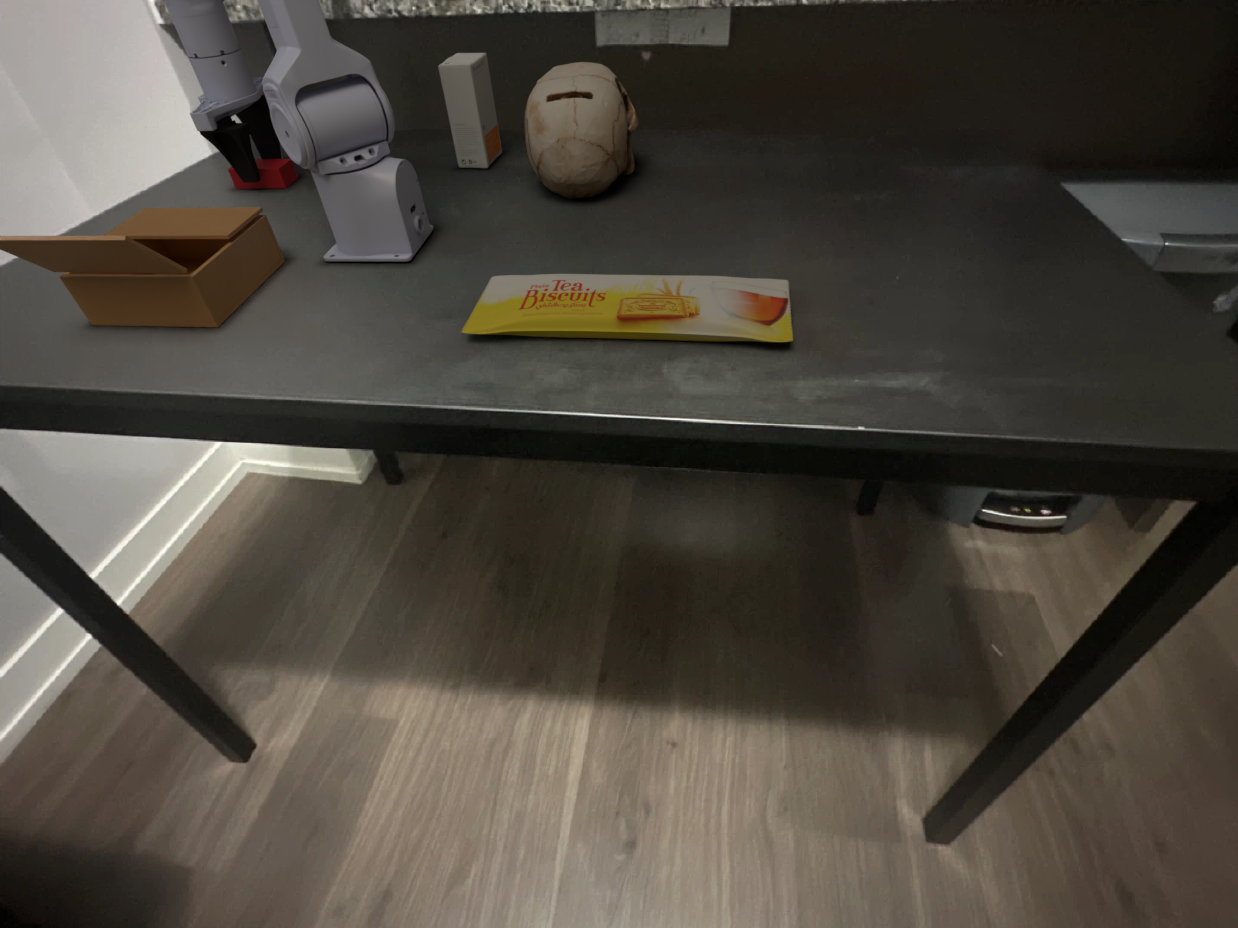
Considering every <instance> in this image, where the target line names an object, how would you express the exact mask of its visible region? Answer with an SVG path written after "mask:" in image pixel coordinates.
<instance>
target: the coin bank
mask: <svg viewBox="0 0 1238 928" xmlns="http://www.w3.org/2000/svg"><path fill="white" fill-rule="evenodd" d="M623 85H624V84H622V83H621V82H620V81H619V80H618V77H617V75H615V73H614V72H613V71H612V70H611V69H610V68H609V67H608V66H606V65H604V64H602V63H597V62H592V61H591V62H590V61H589V62H588V61H579V62H571V63H566V64H559V65H555V66H553V67H552V68H551V69H550V70H548V71H547V72H546V73H545V74H543V76H541V77H540V78H539V79H538V80H537V81H536V84H535V85H534V87H533V88H532V89H531V92H530V94H529V95H528V97H527V101H526V105H525V110H524V111H525V112H524V117H523V118H524V121H523V122H524V135H525V136H524V138H525V146H526V151H527V152H526V153H527V158H528V161H529V164H530V166H531V168H532V169H533V171H534V173H535V175H536V177H537V178H538V179H539V181H540V182H541V184H542V185H543V186H544V187H546V188H547V189H548V190H549V191H551V192H552V193H554V194H557V195H559V196H561V197H563V198H565V199H570V200H571V199H578V198H579V199H580V198H581V199H582V198H590V197H595V196H597V195H600V194H602V193H604V192H607V191H608V190H609V189H610V187H611V185H612V184H613V183H614V182H615V181H616V180H617V179H618V177H619V176H628V175H629V176H630V175H631V174H632V173H634V171H635V166H636V164H635V157H634V151H633V147H632V134H633V133H634V132H635V131H636V129H637V128H638V126H639V124H640V120H639V118H638V115H637V113H636V110H635V109H636V108H635V106H633V103H632V101H631V99H630V97H629V95H628V91H627V90H626V88H625V87H624V86H623Z"/></svg>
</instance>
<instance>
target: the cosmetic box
mask: <svg viewBox="0 0 1238 928" xmlns="http://www.w3.org/2000/svg"><path fill="white" fill-rule="evenodd" d="M437 68H438V73H439V74H438V75H439V77H440V83H441V88H442V93H443V97H444V102H445V107H446V112H447V115H448V116H447V117H448V122H449V126H450V127H449V128H450V132H451V136H452V141H453V147H454V151H455V156H456V161H457V166H458V168H460V169H488V168H489V167H490V166H491V165H492V164H493V163H494V162H495V161H496V160H497V158H499V157H500V156H501V155H502V153H503V147H502V141H501V135H500V128H499V123H498V116H497V110H496V105H495V97H494V92H493V87H492V86H493V85H492V81H491V73H490V66H489V60H488V56H487V52H457V53H455V54H453V55H451V56H449V57H447V58H446V59H445V60H444V61H443V62H442V63H440V64H439V65H438V66H437Z"/></svg>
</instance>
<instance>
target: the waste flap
mask: <svg viewBox="0 0 1238 928" xmlns="http://www.w3.org/2000/svg"><path fill="white" fill-rule="evenodd" d="M0 251H2V252H5V253H8V254H10V255H11V256H14V257H17V258H18V259H22V260H24V261H26V262H29V263H31V264H33V265H36V266H38V267H41V268H43V269H45V270H48V271H50V272H52V273H65V272H116V273H187V268H185V267H183V266H181V265H179V264H177V263H175V262H174V261H172V260H170V259H168V258H166V257H164V256H162V255H161V254H159V253H157V252H155V251H153V250H151V249H149V248H148V247H146V246H144V245H142V244H140V243H138V242H136V241H135V240H133V239H131V238H129V237H127V236H104V235H0Z"/></svg>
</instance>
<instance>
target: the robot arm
mask: <svg viewBox="0 0 1238 928" xmlns="http://www.w3.org/2000/svg"><path fill="white" fill-rule="evenodd" d="M225 1H226V0H163V2H164V4H165V7H166V9H167V12H168V14H169V17H170V19H171V20H172V23H173V26H174V28H175V31H176V33H177V35H178V37H179V40H180V42H181V45H182V46H183V48H184V51H185V53H186V55H187V58H188V60H189V62H190V65H191V68H192V70H193V72H194V74H195V76H196V79H197V81H198V83H199V86H200V88H201V91H202V92H203V94H201V95H199V96H198V97H197V98H198V101H199V103H200V104H198V105H197V107H196V108H195V109H194V110H192V111H191V112H189V115H190V118H191V120H192V122H193V125H194V127H195V130H196V131H197V132H199V134H200V135H201V136H202V137H203V138H204V139H205V140H207V141H208V142H209V143H210V144H211V145H212V146H214V148H215V149H216V150H217V151H218V152H220V154H221V155H222V156H223V157H224V158H225V160H226V161H227V162H228V164H229V165H230V166H231V167H233V169H234V170H235V171H236V173H237V174H238V176H239V177H240V178H241V180H242V181H243V182H258V181H260V175H259V170H258V167H257V164H256V161H255V159H256V158H255V155H254V152H253V148H252V142H253V144H254V146H255V148H256V150H257V152H258V154H259V156H260V159H283V157H282V156H283V155H282V149H283V150H284V152H285V154H286V155H287V156H288V158H289V159H291V160H292V162H293V163H295V164H296V165H297V166H299V167H300V168H301V169H304V170H310V174H311V177H312V179H313V182H314V185H315V188H316V190H317V193H318V196H319V198H320V201H321V204H322V207H323V209H324V212H325V215H326V218H327V221H328V224H329V226H330V229H331V232H332V235H333V238H334V240H335V243H334V245H333V246H331V248H329V250H328V251H327V252H326V253H325V254H324V255H323V257H322V258H323V260H324V261H325V262H361V263H362V262H368V263H369V262H375V263H376V262H377V263H380V262H386V263H387V262H389V263H391V262H393V263H394V262H400V263H401V262H403V263H404V262H409V261H412V260H413V258H414V257H415V256H416V253H417V252H418V251H419V250H420V248H421V247H422V246H423V244H424V243H425V241H426V240H427V238H428V237H429V236H430V235H431V233H432V232H433V230H434V226H433V224H430V220H429V216H428V212H427V208H426V204H425V201H424V197H423V193H422V190H421V185H420V181H419V178H418V175H417V172H416V170H415V168H414V166H413V164H412V163H411V162H410V160H407V159H405V158H398V157H397V158H396V157H393V156H390V154H391V150H390V147H389V144H391V143H392V142H393V140H394V137H395V131H396V122H395V116H394V112H393V107H392V105H391V103H390V100H389V98H388V96H387V94H386V92H385V91H384V89H383V88H382V85H381V84H380V82H379V80H378V77H377V74H376V72H375V69H374V66H373V65H372V63H371V62H372V61H371V60H370V59H368V58H367V57H366V56H365V55H363V54H361V53H359V52H358V51H357V50H355V49H352V48H350V47H348V46H346V45H345V44H343V43H341V42H339V41H338V40H336V39H334V38H333V37H332V36H331V34H330V30H329V27H328V24H327V21H326V18H325V15H324V12H323V9H322V7H321V4H320V1H319V0H256V1H257V3H258V6H259V8H260V11H261V14H262V17H263V18H264V21H265V24H266V26H267V30H268V31H269V35H270V37H271V39H272V42H273V44H274V48H275V50H276V52H275V55H274V57H273V59H272V60H271V63H270V64H269V66H268V68H267V70H266V72H265V73H264V75H263V77H254V78H252V77H253V76H252V74H251V72H250V69H249V67H248V65H247V61H246V59H245V57H244V54H243V52H242V51H243V50H242V48H241V45H240V43H239V41H238V38H237V35H236V32H235V30H234V28H233V27H234V26H233V25H232V22H231V20H230V17H229V14H228V11H227V9H226V6H225V4H224V2H225ZM340 77H345V78H346V79H342V80H338V81H334V82H329V83H326V84H322V85H318V86H315V87H311V88H306V89H303V90H301V89H302V88H304V87H306V86H309V85H314V84H317V83H322V82H325V81H329V80H332V79H337V78H340ZM233 116H236V117H237V118H238V119H239V121H240V122H237V121H236V120H235V119H233V118H232V117H233ZM251 140H252V142H251ZM281 147H282V149H281Z"/></svg>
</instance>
